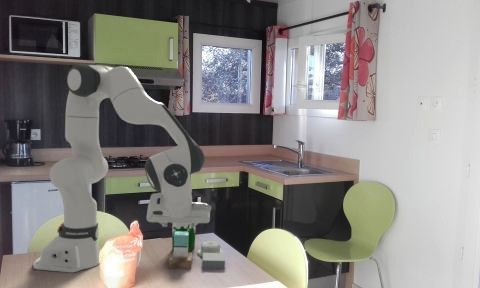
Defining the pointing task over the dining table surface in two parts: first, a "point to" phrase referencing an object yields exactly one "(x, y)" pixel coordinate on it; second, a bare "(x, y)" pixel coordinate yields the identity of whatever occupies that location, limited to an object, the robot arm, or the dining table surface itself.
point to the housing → (181, 244)
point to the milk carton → (185, 228)
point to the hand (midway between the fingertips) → (179, 225)
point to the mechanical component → (209, 248)
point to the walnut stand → (180, 261)
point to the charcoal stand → (213, 261)
